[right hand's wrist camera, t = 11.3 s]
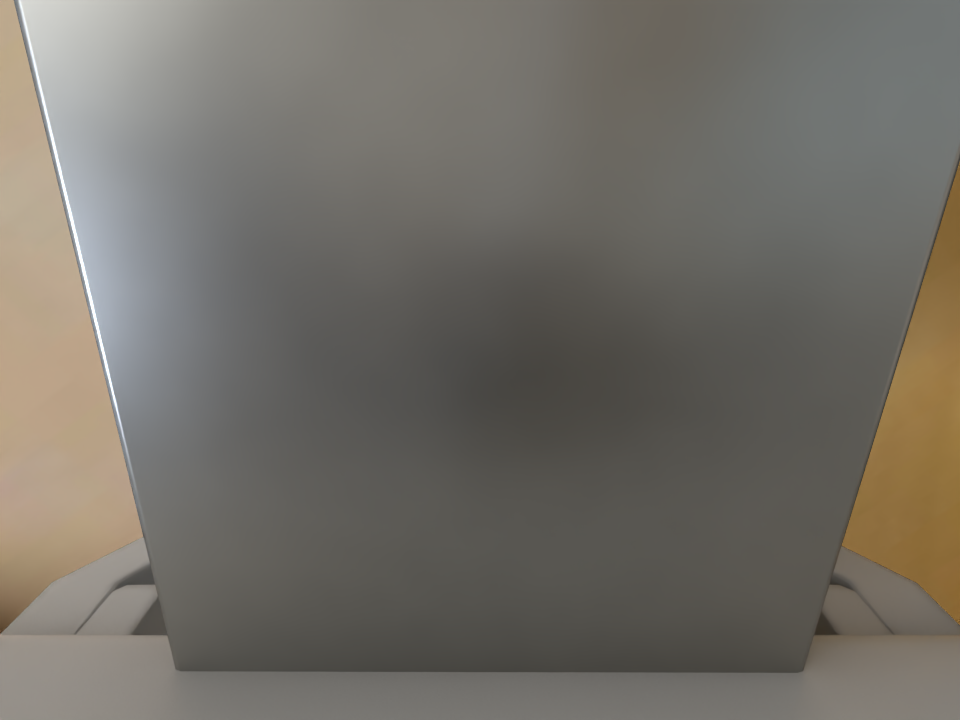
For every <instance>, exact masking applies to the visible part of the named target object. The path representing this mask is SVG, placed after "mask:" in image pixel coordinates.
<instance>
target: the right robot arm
mask: <svg viewBox="0 0 960 720" xmlns="http://www.w3.org/2000/svg"><path fill="white" fill-rule="evenodd" d="M0 720H960V625H959V624H958V623H957V622H956V621H955V620H954V619H953V618H952V617H951V616H950V615H949V614H948V613H947V612H946V611H945V610H944V609H943V608H942V607H941V606H940V605H939V604H938V603H937V602H936V601H934V600H933V599H932V598H931V597H930V596H929V595H928V594H927V593H926V592H925V591H924V590H923V589H922V588H921V587H920V586H919V585H918V584H917V583H915V582H913V581H911V580H909V579H907V578H905V577H903V576H901V575H899V574H897V573H895V572H893V571H891V570H889V569H887V568H885V567H883V566H881V565H879V564H877V563H875V562H873V561H871V560H869V559H867V558H865V557H863V556H861V555H859V554H857V553H855V552H853V551H851V550H849V549H847V548H845V547H843V546H841V549H840V552H839V555H838V559H837V562H836V565H835V568H834V572H833V575H832V578H831V581H830V585H829V588H828V591H827V594H826V598H825V601H824V604H823V607H822V611H821V614H820V617H819V620H818V624H817V627H816V630H815V633H814V637H813V640H812V643H811V646H810V650H809V653H808V656H807V660H806V663H805V666H804V669H803V671H801V672H799V673H646V672H226V671H179V670H176V669H175V665H174V661H173V656H172V652H171V648H170V644H169V640H168V636H167V632H166V627H165V623H164V619H163V615H162V611H161V607H160V603H159V599H158V594H157V590H156V586H155V582H154V578H153V574H152V570H151V565H150V561H149V557H148V553H147V549H146V545H145V541H144V537H142V538H140V539H138V540H136V541H134V542H132V543H130V544H128V545H126V546H124V547H122V548H120V549H118V550H116V551H114V552H112V553H110V554H108V555H106V556H104V557H102V558H100V559H98V560H96V561H94V562H92V563H90V564H88V565H86V566H84V567H82V568H80V569H78V570H76V571H74V572H72V573H70V574H68V575H66V576H64V577H62V578H60V579H58V580H56V581H54V582H52V583H51V584H50V585H49V586H48V587H47V588H46V589H45V590H44V591H43V592H42V593H41V594H40V595H39V596H38V597H37V598H36V599H35V600H34V601H33V602H32V603H31V604H30V605H29V606H28V607H27V608H26V609H25V610H24V611H23V612H22V613H21V614H20V615H19V616H18V617H17V618H16V619H15V620H14V621H13V622H12V623H11V624H10V625H9V626H8V627H7V628H6V629H5V630H4V631H3V632H2V633H1V634H0Z"/></svg>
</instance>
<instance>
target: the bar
mask: <svg viewBox="0 0 960 720" xmlns="http://www.w3.org/2000/svg"><path fill="white" fill-rule="evenodd" d="M14 3H15V7H16V11H17V15H18V20H19V24H20V28H21V32H22V36H23V40H24V44H25V49H26V53H27V57H28V61H29V65H30V69H31V73H32V77H33V82H34V86H35V90H36V94H37V98H38V102H39V106H40V111H41V115H42V119H43V123H44V127H45V131H46V135H47V140H48V144H49V148H50V152H51V156H52V160H53V164H54V168H55V173H56V177H57V181H58V185H59V189H60V193H61V197H62V202H63V206H64V210H65V214H66V218H67V222H68V226H69V230H70V235H71V239H72V243H73V247H74V251H75V255H76V259H77V264H78V268H79V272H80V276H81V280H82V284H83V288H84V293H85V297H86V301H87V305H88V309H89V313H90V317H91V321H92V326H93V330H94V334H95V338H96V342H97V346H98V350H99V355H100V359H101V363H102V367H103V371H104V375H105V379H106V383H107V388H108V392H109V396H110V400H111V404H112V408H113V412H114V417H115V421H116V425H117V429H118V433H119V437H120V441H121V446H122V450H123V454H124V458H125V462H126V466H127V470H128V474H129V479H130V483H131V487H132V491H133V495H134V499H135V503H136V508H137V512H138V516H139V520H140V524H141V528H142V532H143V537H144V541H145V545H146V549H147V553H148V557H149V561H150V565H151V570H152V574H153V578H154V582H155V586H156V590H157V594H158V599H159V603H160V607H161V611H162V615H163V619H164V623H165V627H166V632H167V636H168V640H169V644H170V648H171V652H172V656H173V661H174V665H175V669H176V670H179V671H226V672H646V673H799V672H801V671H803V669H804V666H805V663H806V660H807V656H808V653H809V650H810V646H811V643H812V640H813V637H814V633H815V630H816V627H817V624H818V620H819V617H820V614H821V611H822V607H823V604H824V601H825V598H826V594H827V591H828V588H829V585H830V581H831V578H832V575H833V572H834V568H835V565H836V562H837V559H838V555H839V552H840V549H841V546H842V542H843V539H844V536H845V533H846V529H847V526H848V523H849V520H850V516H851V513H852V510H853V507H854V503H855V500H856V497H857V494H858V490H859V487H860V484H861V480H862V477H863V474H864V471H865V467H866V464H867V461H868V458H869V454H870V451H871V448H872V445H873V441H874V438H875V435H876V432H877V428H878V425H879V422H880V419H881V415H882V412H883V409H884V406H885V402H886V399H887V396H888V393H889V389H890V386H891V383H892V380H893V376H894V373H895V370H896V367H897V363H898V360H899V357H900V354H901V350H902V347H903V344H904V341H905V337H906V334H907V331H908V328H909V324H910V321H911V318H912V315H913V311H914V308H915V305H916V301H917V298H918V295H919V292H920V288H921V285H922V282H923V279H924V275H925V272H926V269H927V266H928V262H929V259H930V256H931V253H932V249H933V246H934V243H935V240H936V236H937V233H938V230H939V227H940V223H941V220H942V217H943V214H944V210H945V207H946V204H947V201H948V197H949V194H950V191H951V188H952V184H953V181H954V178H955V175H956V171H957V168H958V165H959V162H960V0H14Z"/></svg>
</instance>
